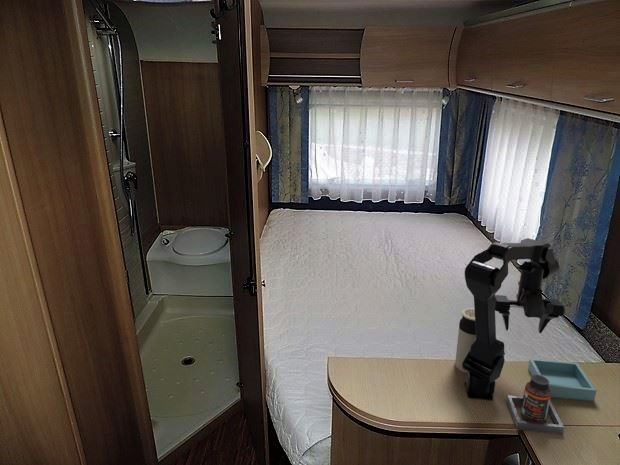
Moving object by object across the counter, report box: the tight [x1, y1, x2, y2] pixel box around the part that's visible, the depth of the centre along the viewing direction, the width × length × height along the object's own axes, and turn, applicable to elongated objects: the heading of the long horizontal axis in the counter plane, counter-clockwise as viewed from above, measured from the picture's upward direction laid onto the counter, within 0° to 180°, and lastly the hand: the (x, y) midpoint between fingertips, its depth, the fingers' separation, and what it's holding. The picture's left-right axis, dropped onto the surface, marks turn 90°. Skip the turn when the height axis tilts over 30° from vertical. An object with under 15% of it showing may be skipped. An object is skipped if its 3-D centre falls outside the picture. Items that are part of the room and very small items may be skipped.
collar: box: [505, 394, 565, 435], centre depth 114 cm, size 11×11×2 cm
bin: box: [527, 358, 597, 403], centre depth 126 cm, size 13×13×4 cm
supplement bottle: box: [520, 375, 552, 423], centre depth 112 cm, size 6×6×11 cm
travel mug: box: [454, 307, 476, 374], centre depth 132 cm, size 8×8×18 cm
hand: (523, 331), depth 132 cm, fingers open, 9 cm apart
